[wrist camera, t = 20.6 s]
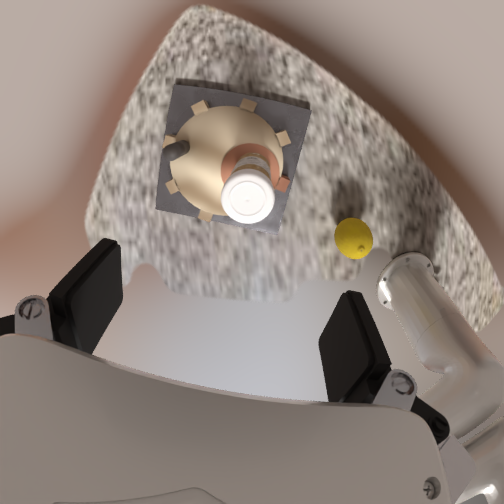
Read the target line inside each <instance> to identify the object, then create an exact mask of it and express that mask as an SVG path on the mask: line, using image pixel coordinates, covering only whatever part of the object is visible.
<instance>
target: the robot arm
mask: <svg viewBox="0 0 504 504" xmlns="http://www.w3.org/2000/svg"><path fill="white" fill-rule="evenodd" d="M376 293H377V297H378V299H379V301H380V303H381V304H382V305H383V306H384V307H386V308H388V309H391V310H394V312H395V313H396V316H397V318H398V320H399V321H400V323H401V325H402V327H403V329H404V331H405V333H406V335H407V337H408V339H409V341H410V343H411V345H412V347H413V350H414V351H415V353H416V356H417V358H418V360H419V361H420V363H421V364H422V365H423V366H424V367H425V368H426V369H428V370H430V371H433V372H436V373H441V374H444V376H443V377H442V378H441V379H440V380H439V381H438V382H436V383H435V385H433V386H432V387H430V388H429V389H428V390H426V391H425V392H424V393H422V394H421V395H420V396H418V397H417V396H416V393H417V384H416V382H415V380H414V378H413V377H412V376H411V375H409V374H408V373H407V372H405V371H403V370H399V369H394V370H391V367H390V365H391V364H392V363H391V361H390V358H389V356H388V353H387V351H386V348H385V346H384V343H383V341H382V339H381V336H380V334H379V331H378V329H377V327H376V324H375V322H374V320H373V318H372V315H371V313H370V311H369V308H368V306H367V304H366V302H365V300H364V298H363V295H362V293H360V292H356V291H351V290H348V291H347V292H346V293H343V294H342V295H341V297H340V299H339V301H338V303H337V305H336V307H335V309H334V311H333V313H332V315H331V317H330V319H329V321H328V323H327V325H326V327H325V328H324V330H323V332H322V334H321V336H320V338H319V350H320V355H321V360H322V366H323V371H324V377H325V383H326V389H327V395H328V401H329V402H320V401H318V402H317V401H304V400H292V399H280V398H272V397H263V396H256V395H249V394H243V393H236V392H230V391H224V390H219V389H214V388H208V387H204V386H199V385H194V384H189V383H185V382H181V381H177V380H172V379H169V378H165V377H161V376H157V375H154V374H150V373H146V372H143V371H140V370H136V369H133V368H130V367H126V366H123V365H120V364H117V363H114V362H111V361H108V360H106V359H102V358H99V357H97V356H94V355H92V353H93V351H94V349H95V348H96V346H97V344H98V342H99V340H100V338H101V337H102V335H103V333H104V332H105V330H106V328H107V327H108V325H109V323H110V322H111V320H112V318H113V316H114V315H115V313H116V312H117V310H118V308H119V306H120V305H121V303H122V300H123V289H122V272H121V247H120V245H118V244H117V241H116V240H111V239H107V238H103V239H102V240H101V241H100V242H99V243H97V244H96V245H95V246H94V247H93V248H92V249H91V250H90V251H89V252H88V253H87V254H86V255H85V256H84V257H83V258H82V259H81V260H80V261H79V262H78V263H77V264H76V266H74V267H73V268H72V269H71V270H70V271H69V272H68V274H67V275H66V276H65V277H64V278H63V279H62V280H61V281H60V282H59V283H58V285H56V286H55V288H54V289H53V290H52V291H51V292H50V293H49V296H48V298H47V299H45V298H44V297H42V296H38V295H31V296H28V297H25V298H24V299H22V300H21V301H20V302H19V303H18V304H17V306H16V309H15V314H14V315H10V316H6V317H2V318H0V504H460V503H462V502H464V501H466V500H467V499H470V498H472V497H473V496H475V495H477V494H481V493H483V494H484V495H485V496H486V498H487V501H488V504H504V416H503V417H501V418H499V419H498V420H496V421H494V422H493V423H492V424H490V425H489V426H487V427H486V428H485V429H483V430H482V431H480V432H479V433H477V434H476V435H475V436H473V437H472V438H470V439H469V440H467V441H466V442H464V443H462V444H460V442H459V441H458V439H459V438H461V437H463V436H465V435H466V434H467V433H469V432H470V431H472V430H473V429H475V428H476V427H477V426H479V425H480V424H482V423H483V422H484V421H485V420H487V419H488V418H489V417H490V416H491V415H492V414H494V413H495V412H496V411H497V409H499V407H500V406H501V405H502V404H503V402H504V366H503V365H502V364H501V362H500V361H499V360H498V359H497V358H496V357H495V356H494V355H493V354H492V352H491V351H490V350H489V349H488V348H487V347H486V345H485V344H484V343H483V342H482V341H481V339H480V338H479V337H478V335H477V334H476V333H475V331H474V330H473V329H472V327H471V326H470V325H469V323H468V322H467V320H466V319H465V318H464V316H463V315H462V313H461V312H460V311H459V309H458V308H457V307H456V305H455V304H454V303H453V301H452V300H451V299H450V297H449V296H448V295H447V293H446V292H445V291H444V287H442V286H440V285H439V283H438V282H437V281H436V280H435V278H434V268H433V265H432V263H431V261H430V260H429V259H428V258H427V257H426V256H425V255H423V254H421V253H418V252H410V253H405V254H402V255H400V256H398V257H396V258H395V259H394V260H392V261H391V262H390V263H389V264H388V265H387V266H386V267H385V268H384V269H383V271H382V272H381V274H380V276H379V278H378V281H377V285H376Z"/></svg>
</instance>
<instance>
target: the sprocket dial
mask: <svg viewBox="0 0 504 504" xmlns="http://www.w3.org/2000/svg"><path fill="white" fill-rule="evenodd" d="M256 105H257V103H256V102H254V101H251V100H248V99H245V98H243V100H242V103H241V105H240V107H234V106H218V107H213V108H210V107H209V105H208V103H207V101H205V100H202V101H200V102H198V103H196V104H194V105H192V106H191V108H192V110H193V112H194V114H195V115H194V116H193V117H192V118H190V119H189V120H188V121H187V122H186V123H185V124H184V125H183V126H182V128H181V129H180V130H179V132H178V133H177V135H172V134H168V135H166V136H165V139H164V143H163V146H162V148H164V149H163V156H164V158H165V159H166V160H168V161H170V168H171V173H172V177H173V179H171V180H169V181H168V182H166V183H165V184H166V186H167V188H168V190H169V192H170V194H173V193H175V192H177V191H180V192H181V194H182V195H183V196H184V197H185V198H186V199H187V200H188V201H189V202H190V203H191V204H193V205H194V206H196V207H197V208H199V209H201V210H200V213H199V216H198V218H199V219H202V220H205V221H207V222H210V221H211V219H212V216H213V214H215V215H223V216H228V215H227V213H226V212H225V211H224V209H223V207H222V203H221V192H222V189H223V186H224V184H225V182H226V180H227V179H228V178H229V176H230V175H231V172H232V171H233V169H234V167H235V165H236V163H237V161H238V159H240V158H241V156H243V155H245V154H247V153H259V154H261V155H263V156H264V157H265V158H266V159H267V160H268V162H269V164H270V172H271V181H272V185H273V187H274V190H275V189H277V190H279V191H282V192H284V193H285V191H286V189H287V187H288V185H289V183H290V179H289V177H286V176H284V175H282V170H283V153H282V148H281V147H282V146H285V145H287V144H290V143H291V141H290V139H289V137H288V134H287V132H286V130H282V131H280V132H277V133H275V132H274V130H273V129H272V128H271V126H270V125H269V124H268V123H267V122H266V121H265V120H264V119H262V118H261V117H260V116H258V115H257V114H255V113H253V112H254V110H255V108H256Z"/></svg>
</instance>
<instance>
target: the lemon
mask: <svg viewBox="0 0 504 504" xmlns="http://www.w3.org/2000/svg"><path fill="white" fill-rule="evenodd" d="M334 236H335V243H336V245H337V247H338V249H339V250H340V252H341V253H343V254H344V255H345V256H346V257H349V258H351V259H360V258H363V257H364V256H366V255H367V254H368V253H369V252H370V250H371V248H372V245H373V237H372V233H371V231H370V229H369V227H368V226H367V225H366V223H364V222H363V221H362V220H360V219H357V218H346V219H344V220H343V221H341V222H340V223H339V224H338V225H337V227H336V230H335V234H334Z"/></svg>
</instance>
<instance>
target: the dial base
mask: <svg viewBox="0 0 504 504" xmlns="http://www.w3.org/2000/svg"><path fill="white" fill-rule="evenodd" d="M243 98H245V99H248V100H251V101H254V102H256V103H257V105H256V108H255V110H254V112H253V113H255V114H257V115H258V116H260V117H261V118H262V119H264V120H265V121H266V122H267V123H268V124H269V125H270V126H271V128H272V129H273V130H274V132H275V133H277V132H280V131H282V130H286V132H287V134H288V137H289V139H290V141H291V143H290V144H287V145H285V146H282V147H281V148H282V153H283V170H282V175H284V176H286V177H289V179H290V183H289V185H288V187H287V189H286V191H285V193H284V192H282V191H279V190H277V189H275V190H274V193H275V202H274V206H273V208H272V210H271V212H270V213H269V214H268V216H267V217H265V218H264V219H262V220H261V221H259V222H256V223H250V224H247V223H240V222H237V221H235V220H234V219H232V218H231V217H229V216H223V215H215V214H213V216H212V219H211V221H216V222H220V223H225V224H230V225H234V226H239V227H244V228H248V229H253V230H257V231H262V232H266V233H271V234H275V235H277V234H278V231H279V227H280V224H281V220H282V217H283V213H284V210H285V206H286V203H287V199H288V196H289V192H290V188H291V185H292V181H293V178H294V174H295V170H296V167H297V163H298V160H299V156H300V152H301V149H302V145H303V141H304V137H305V134H306V130H307V126H308V122H309V119H310V115H311V110H308V109H305V108H301V107H297V106H294V105H290V104H286V103H282V102H278V101H274V100H270V99H265V98H261V97H256V96H251V95H246V94H241V93H235V92H229V91H223V90H217V89H210V88H202V87H194V86H185V85H174V88H173V93H172V98H171V103H170V108H169V113H168V118H167V124H166V130H165V136H166V135H168V134H172V135H177V133H178V132H179V130H180V129H181V128H182V126H183V125H184V124H185V123H186V122H187V121H188V120H189V119H190V118H192V117H193V116H194V115H195V114H194V112H193V110H192V108H191V106H192V105H194V104H196V103H198V102H200V101H202V100H205V101H207V103H208V105H209V107H210V108H213V107H218V106H234V107H240V105H241V103H242V100H243ZM165 136H164V139H165ZM163 149H164V148H163ZM163 149H162V156H161V164H160V171H159V180H158V189H157V199H156V209H157V210H162V211H167V212H172V213H177V214H182V215H187V216H192V217H197V218H198V216H199V213H200V210H201V209H199V208H197V207H196V206H194V205H193V204H191V203H190V202H189V201H188V200H187V199H186V198H185V197H184V196H183V195H182V194H181V192H180V191H177V192H175V193H173V194H170V192H169V190H168V188H167V186H166V184H165V183H166V182H168V181H169V180H171V179H173V177H172V173H171V168H170V161H168V160H166V159H165V158H164V156H163Z"/></svg>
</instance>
